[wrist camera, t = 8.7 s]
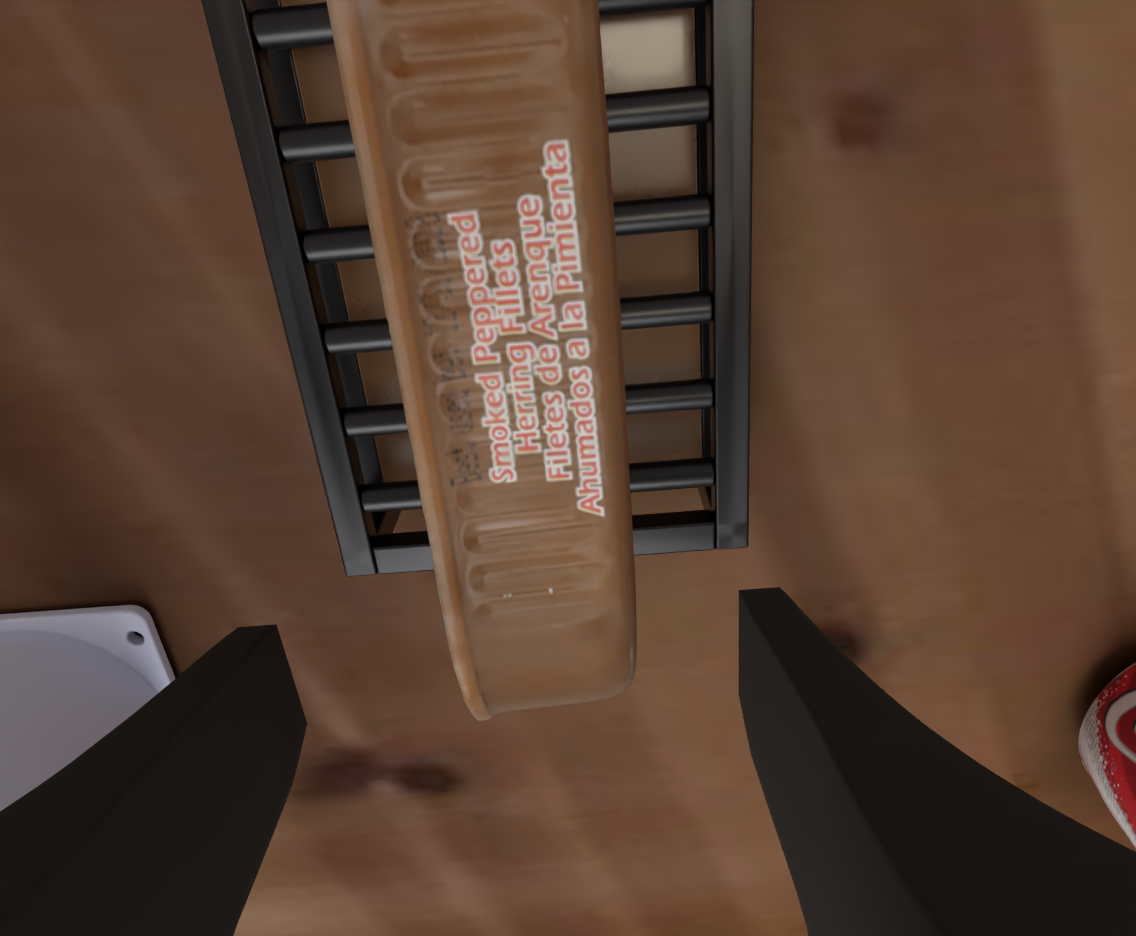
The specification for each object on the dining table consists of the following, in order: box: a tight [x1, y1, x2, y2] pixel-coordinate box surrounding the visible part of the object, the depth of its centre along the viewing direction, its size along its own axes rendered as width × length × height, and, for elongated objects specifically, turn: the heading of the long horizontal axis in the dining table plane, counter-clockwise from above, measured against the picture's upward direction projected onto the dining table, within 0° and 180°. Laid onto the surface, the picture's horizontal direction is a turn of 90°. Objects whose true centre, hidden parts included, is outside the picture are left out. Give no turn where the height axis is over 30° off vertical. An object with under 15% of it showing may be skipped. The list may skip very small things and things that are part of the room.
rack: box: [202, 0, 754, 576], centre depth 18 cm, size 16×10×4 cm, turn 6°
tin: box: [326, 0, 636, 721], centre depth 13 cm, size 15×3×8 cm, turn 5°
